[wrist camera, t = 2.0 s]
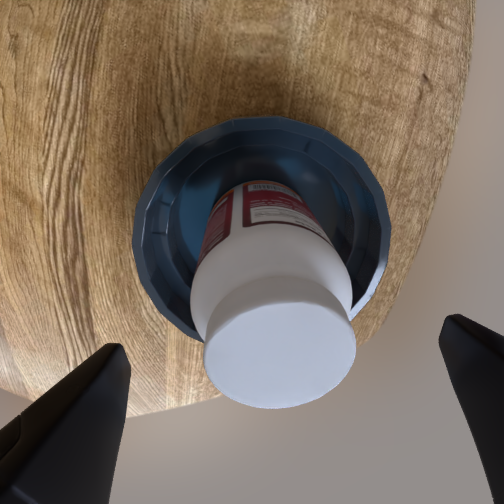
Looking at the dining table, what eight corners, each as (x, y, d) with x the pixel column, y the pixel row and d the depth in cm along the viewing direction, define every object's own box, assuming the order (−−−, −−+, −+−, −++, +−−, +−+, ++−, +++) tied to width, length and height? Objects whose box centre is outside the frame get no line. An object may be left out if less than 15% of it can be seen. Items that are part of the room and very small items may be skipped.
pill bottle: (239, 289, 21) (237, 438, 11) (188, 208, 18) (132, 330, 9) (327, 248, 20) (395, 380, 10) (285, 158, 17) (343, 232, 7)
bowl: (367, 114, 17) (397, 117, 13) (356, 307, 22) (374, 342, 19) (137, 128, 17) (111, 135, 13) (172, 320, 22) (162, 358, 19)
